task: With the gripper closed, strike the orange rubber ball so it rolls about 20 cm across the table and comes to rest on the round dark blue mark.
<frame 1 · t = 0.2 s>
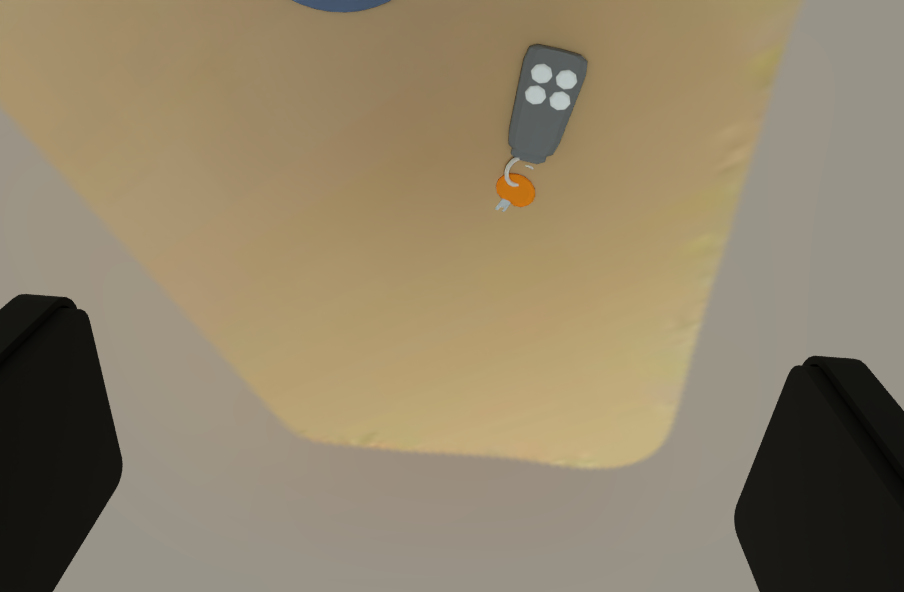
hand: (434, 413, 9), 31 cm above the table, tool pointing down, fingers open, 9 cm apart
key chain: (523, 157, 40), on the table
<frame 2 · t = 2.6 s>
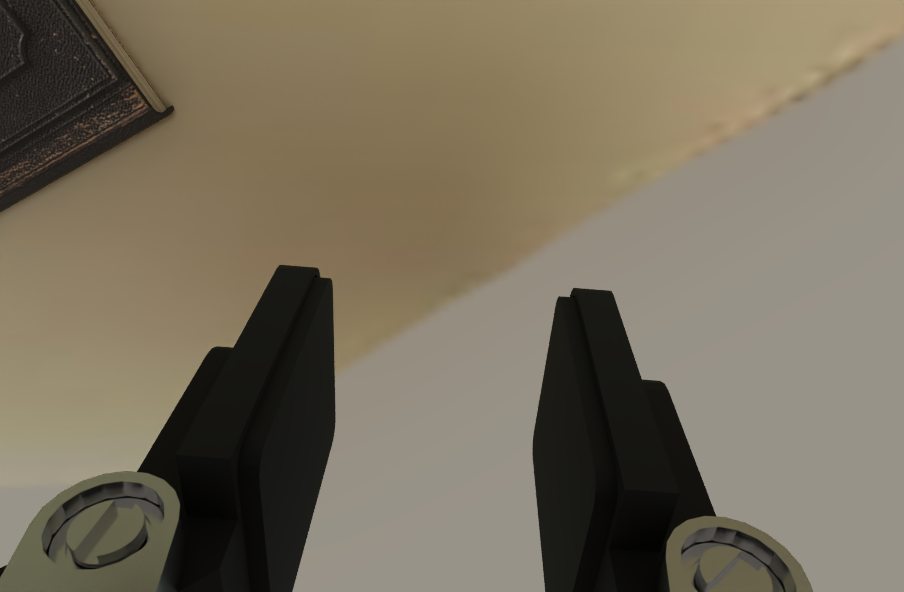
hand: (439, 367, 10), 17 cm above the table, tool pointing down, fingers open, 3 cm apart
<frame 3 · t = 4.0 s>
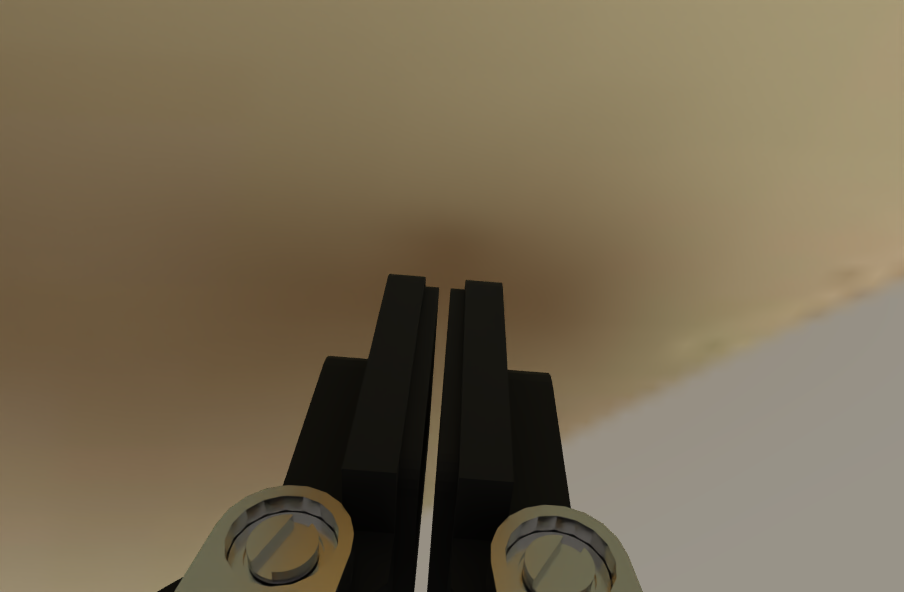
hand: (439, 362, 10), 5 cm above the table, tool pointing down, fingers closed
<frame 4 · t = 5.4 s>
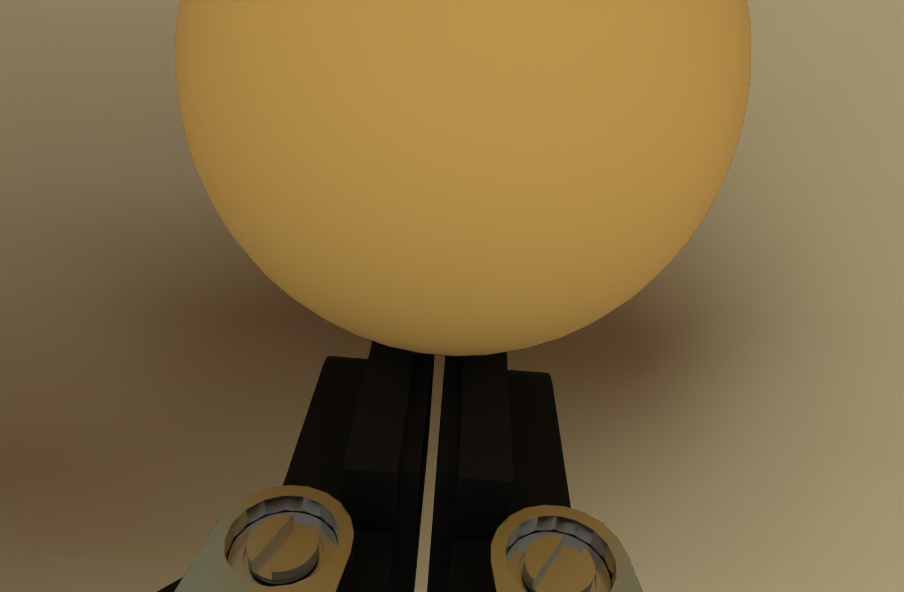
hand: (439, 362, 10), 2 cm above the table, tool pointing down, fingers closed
ball: (461, 89, 7), on the table
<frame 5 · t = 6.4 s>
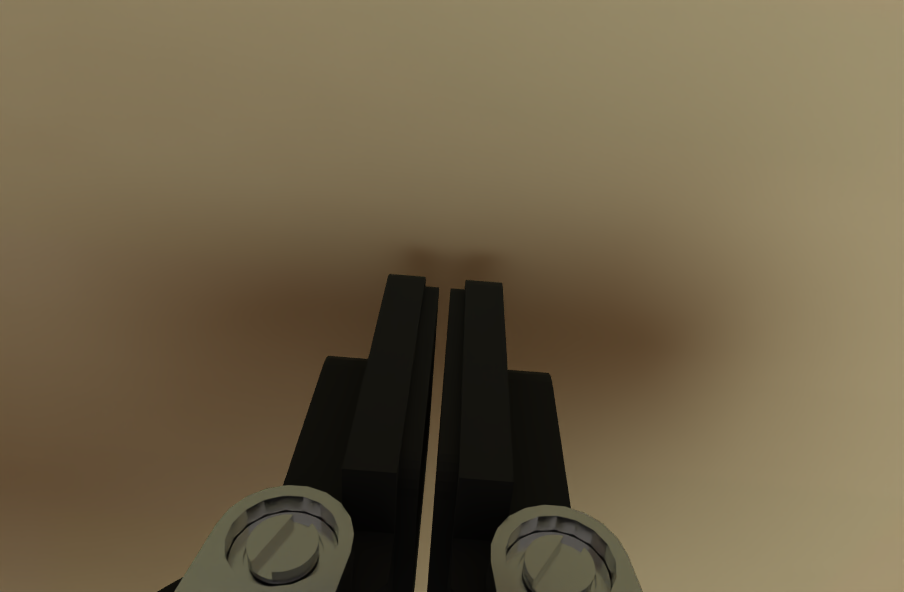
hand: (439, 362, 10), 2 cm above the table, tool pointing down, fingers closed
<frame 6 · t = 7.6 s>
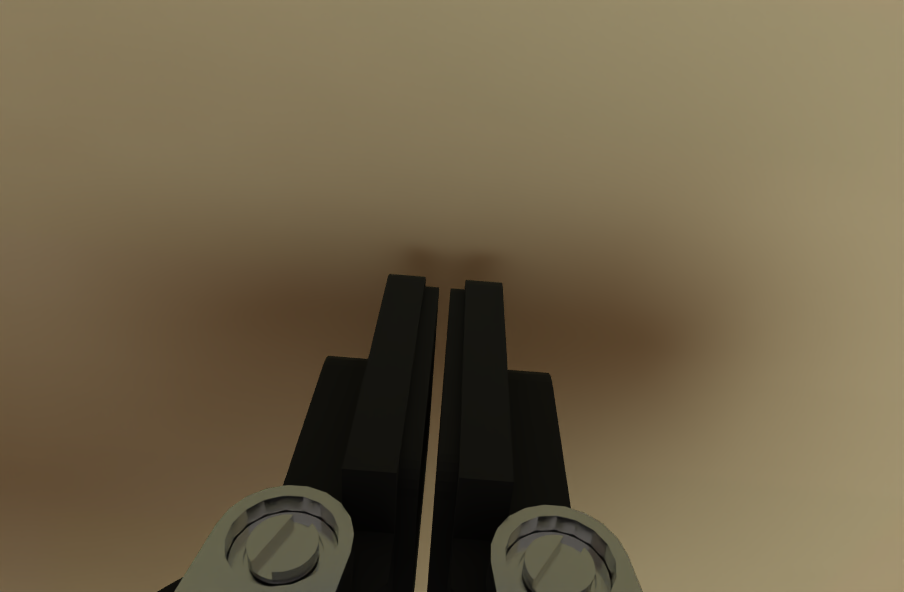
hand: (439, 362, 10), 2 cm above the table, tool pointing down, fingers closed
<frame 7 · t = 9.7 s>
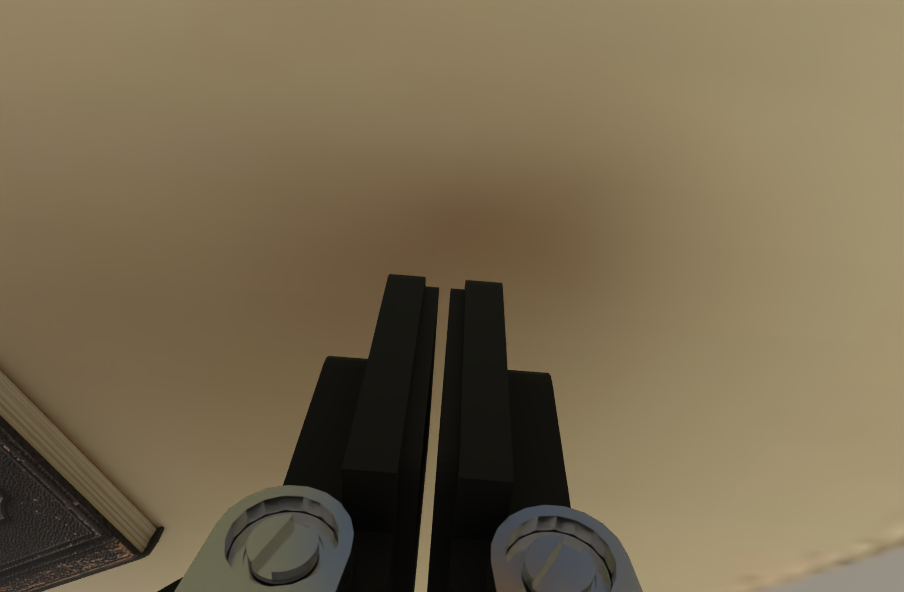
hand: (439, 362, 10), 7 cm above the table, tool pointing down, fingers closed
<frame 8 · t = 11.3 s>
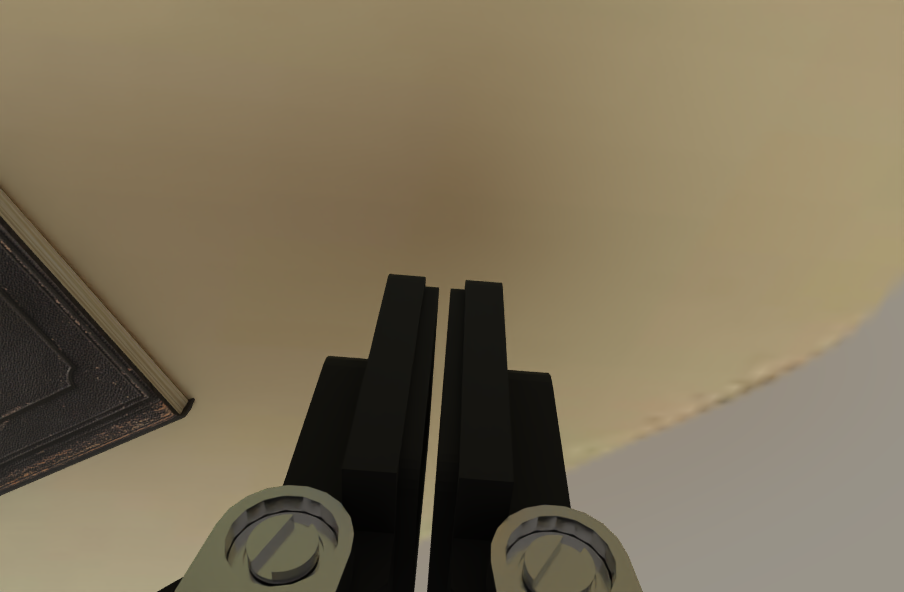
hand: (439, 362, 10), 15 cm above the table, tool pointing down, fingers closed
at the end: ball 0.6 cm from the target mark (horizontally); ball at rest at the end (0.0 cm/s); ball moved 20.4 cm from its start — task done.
